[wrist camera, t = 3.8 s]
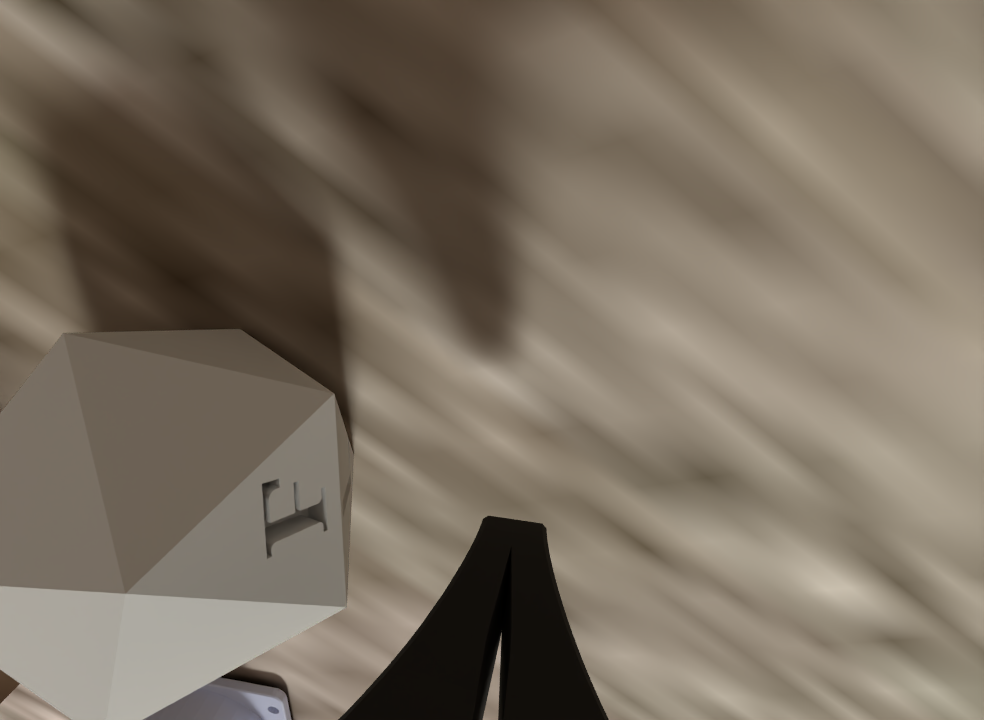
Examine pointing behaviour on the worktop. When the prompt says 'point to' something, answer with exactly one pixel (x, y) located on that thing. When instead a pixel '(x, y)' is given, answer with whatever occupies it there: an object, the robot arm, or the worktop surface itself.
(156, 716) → the robot arm
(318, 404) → the die
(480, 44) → the worktop surface
